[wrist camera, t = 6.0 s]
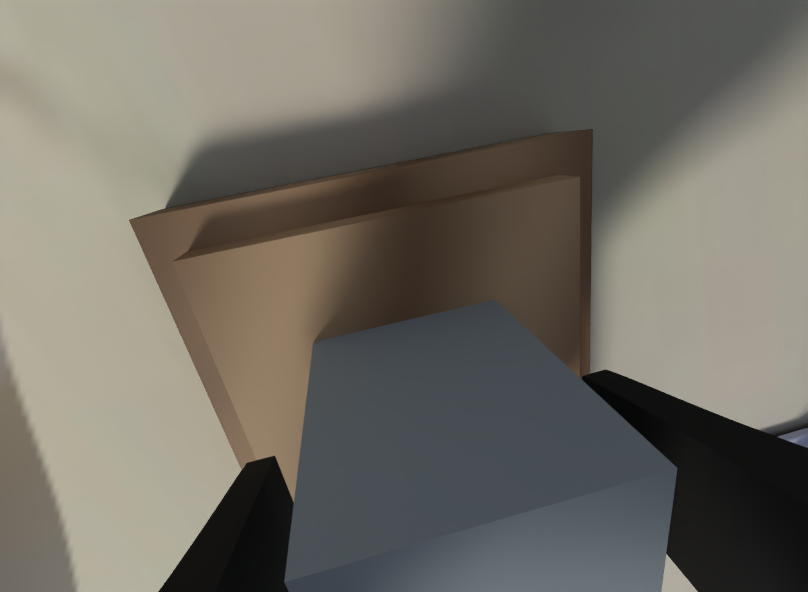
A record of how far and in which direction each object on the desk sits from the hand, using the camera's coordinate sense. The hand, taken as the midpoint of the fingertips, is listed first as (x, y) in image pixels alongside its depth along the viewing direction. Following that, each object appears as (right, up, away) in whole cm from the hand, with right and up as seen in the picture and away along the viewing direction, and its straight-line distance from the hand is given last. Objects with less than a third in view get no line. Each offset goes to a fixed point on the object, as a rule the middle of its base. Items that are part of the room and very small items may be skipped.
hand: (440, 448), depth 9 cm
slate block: (0, +1, +2) cm, 2 cm away
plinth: (-1, +2, +5) cm, 5 cm away
